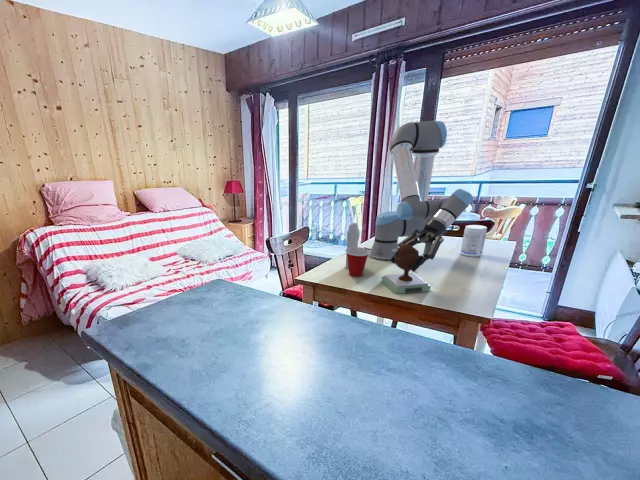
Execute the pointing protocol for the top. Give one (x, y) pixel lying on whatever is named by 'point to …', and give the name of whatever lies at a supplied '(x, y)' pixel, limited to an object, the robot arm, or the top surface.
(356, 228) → the tall pale column
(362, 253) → the plastic cup
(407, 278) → the ice cream bowl
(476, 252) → the supplement tub
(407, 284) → the scale
